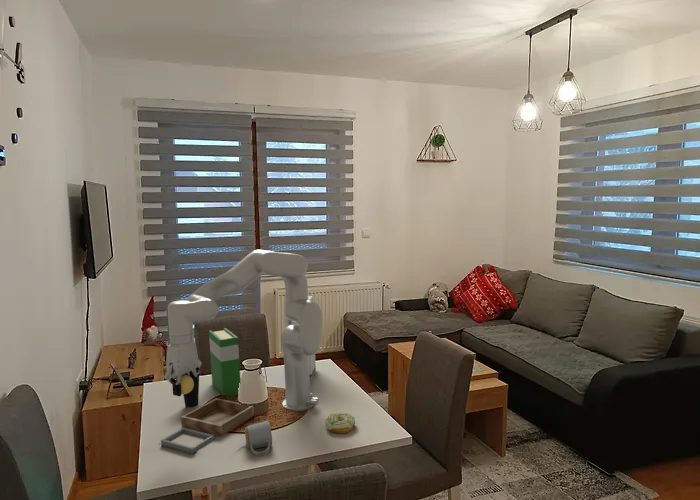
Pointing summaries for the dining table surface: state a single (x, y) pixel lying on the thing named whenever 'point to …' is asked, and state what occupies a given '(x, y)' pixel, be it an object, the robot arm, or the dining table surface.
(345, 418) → the decorated donut
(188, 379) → the ball
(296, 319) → the robot arm
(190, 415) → the walnut box
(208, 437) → the dish
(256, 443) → the ceramic mug
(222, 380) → the hardback book
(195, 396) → the drinking cup
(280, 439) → the dining table surface
